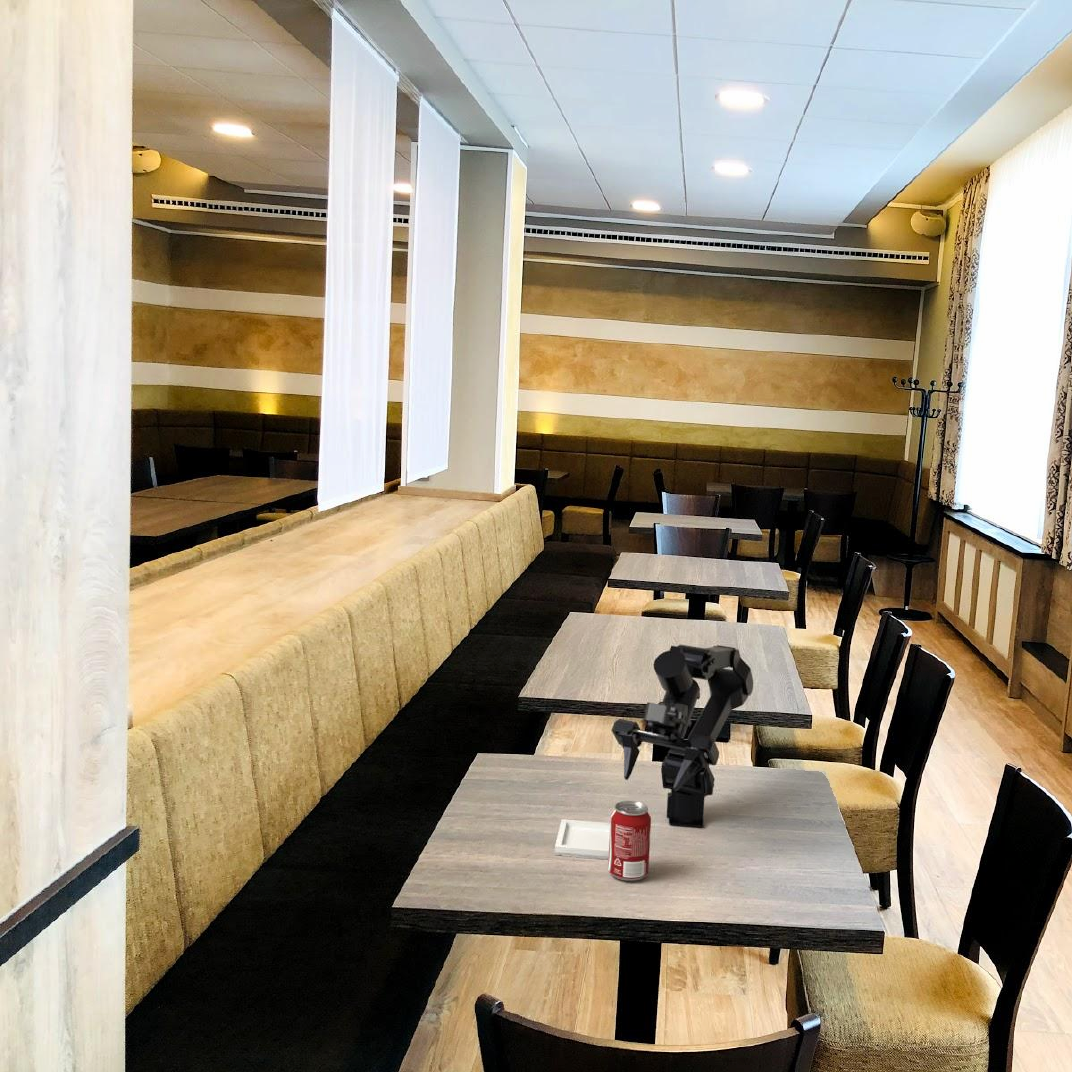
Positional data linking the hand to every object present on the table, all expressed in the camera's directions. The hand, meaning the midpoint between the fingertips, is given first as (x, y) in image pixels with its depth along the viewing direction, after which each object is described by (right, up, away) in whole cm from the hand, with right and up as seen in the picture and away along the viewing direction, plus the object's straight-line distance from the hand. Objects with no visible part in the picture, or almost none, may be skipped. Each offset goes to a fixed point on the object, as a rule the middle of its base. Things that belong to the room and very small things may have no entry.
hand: (649, 784), depth 191 cm
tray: (-10, -12, +7) cm, 17 cm away
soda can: (-4, -14, -5) cm, 16 cm away
